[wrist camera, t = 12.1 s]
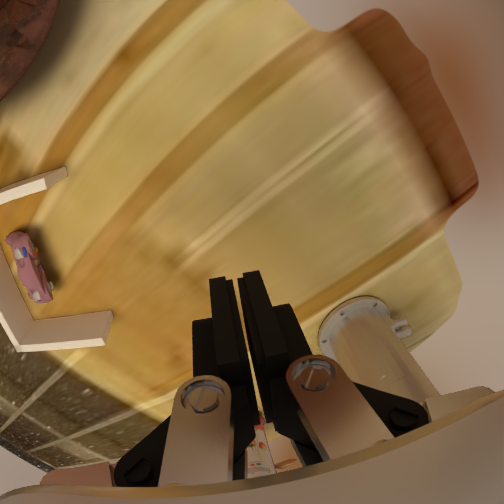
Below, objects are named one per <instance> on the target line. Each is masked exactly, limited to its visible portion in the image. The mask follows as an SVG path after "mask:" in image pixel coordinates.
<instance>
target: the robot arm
mask: <svg viewBox="0 0 504 504" xmlns="http://www.w3.org/2000/svg"><path fill="white" fill-rule="evenodd" d="M237 280H238V286H239V292H240V299H241V305H242V311H243V317H244V323H245V328H246V334H247V340H248V345H249V350H250V354H251V359H252V363H253V368H254V372H255V376H256V381H257V385H258V389H259V394H260V398H261V402H262V407H263V411H264V415H265V419H266V423H271V422H273V424H274V427H275V431H277V432H278V433H279V434H281V435H284V436H286V437H288V438H290V441H291V444H292V446H293V448H294V450H295V452H296V454H297V456H298V458H299V460H300V462H301V464H302V466H303V467H302V468H298V469H294V470H289V471H285V472H280V473H275V474H270V475H265V476H259V477H254V478H248V452H247V447H248V446H249V445H250V444H251V442H252V441H253V440H254V439H255V438H256V433H255V428H254V426H256V425H261V422H260V417H259V411H258V406H257V401H256V395H255V390H254V385H253V379H252V374H251V368H250V363H249V358H248V353H247V348H246V343H245V339H244V334H243V329H242V325H241V320H240V315H239V310H238V305H237V300H236V296H235V291H234V286H233V281H232V279H231V280H226V278H225V276H224V277H218V278H212V279H209V285H210V297H211V309H212V318H207V319H201V320H195V321H193V322H192V343H193V378H191V379H189V380H187V381H186V382H185V383H183V384H182V385H181V386H180V387H179V389H178V390H177V392H176V395H175V398H174V403H173V408H172V413H171V415H170V416H169V417H168V418H167V419H166V420H165V421H164V422H162V423H161V424H160V425H159V426H158V427H157V428H156V429H154V430H153V431H152V432H151V433H150V434H149V435H147V436H146V437H145V438H144V439H143V440H142V441H141V442H139V443H138V444H137V445H136V446H135V447H133V448H132V449H131V450H130V451H129V452H128V453H126V454H125V455H124V456H123V457H122V458H121V459H120V460H119V461H118V462H117V463H116V464H110V463H109V462H104V463H99V464H93V465H88V466H82V467H75V468H68V469H61V470H54V471H51V472H48V473H47V474H46V475H45V476H43V478H42V480H41V482H40V485H33V486H27V487H22V488H19V489H15V490H12V491H9V492H7V493H5V494H3V495H1V496H0V504H504V390H502V391H498V392H494V391H493V390H491V389H490V388H487V387H483V386H481V387H474V388H470V389H466V390H462V391H458V392H454V393H450V394H445V395H440V394H439V392H438V391H437V390H436V388H435V387H434V386H433V384H432V383H431V382H430V380H429V379H428V377H427V376H426V375H425V373H424V372H423V370H422V369H421V368H420V366H419V365H418V363H417V362H416V361H415V359H414V358H413V357H412V355H411V354H410V353H409V351H408V350H407V349H406V347H405V346H404V344H403V343H402V342H401V340H400V338H401V339H402V338H405V337H408V336H410V335H411V334H412V330H411V327H410V326H409V325H406V324H407V322H408V321H407V318H406V317H402V318H398V319H396V320H394V319H391V316H390V311H389V309H388V308H387V306H386V305H385V304H384V303H383V302H382V301H381V300H380V299H377V298H375V297H369V296H364V297H358V298H354V299H351V300H349V301H346V302H345V303H343V304H341V305H339V306H338V307H337V308H336V309H334V310H333V311H332V312H331V313H330V314H329V315H328V316H327V317H326V319H325V320H324V322H323V323H322V325H321V327H320V330H319V333H318V344H319V347H320V349H321V351H322V353H323V354H324V355H325V356H323V355H313V354H312V352H311V350H310V348H309V345H308V343H307V341H306V339H305V336H304V334H303V332H302V329H301V327H300V325H299V323H298V320H297V318H296V316H295V314H294V311H293V309H292V307H291V305H290V304H289V303H288V304H283V305H278V306H273V307H272V305H271V302H270V299H269V296H268V294H267V291H266V288H265V285H264V282H263V280H262V277H261V274H260V272H259V270H258V271H252V272H246V273H243V278H237ZM403 325H406V326H403ZM400 326H403V327H400ZM396 327H400V328H398V329H396ZM336 361H338V363H339V364H338V363H337V362H336Z"/></svg>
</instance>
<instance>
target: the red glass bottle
mask: <svg viewBox="0 0 504 504" xmlns="http://www.w3.org/2000/svg"><path fill="white" fill-rule="evenodd" d="M259 417H260V422H261V425H256V426H254V428H255V433H256V438H255V439H254V440H253V441H252V442H251V444H250V445H249V446H248V447H247V452H248V478H254V477H259V476H265V475H270V474H275V473H277V472H276V469H275V466H274V463H273V460H272V456H271V453H270V450H269V446H268V443H267V439H266V435H265V431H264V427H263V425H264V422H265V421H264V419H263V418H262V417H261V416H259Z"/></svg>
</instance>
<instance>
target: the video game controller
mask: <svg viewBox="0 0 504 504" xmlns="http://www.w3.org/2000/svg"><path fill="white" fill-rule="evenodd" d="M5 241H6V243H7V244H8V245H10V246H11V249H12V252H13V256H14V259H15V262H16V265H17V268H18V275H19V279H20V281H21V282H22V283H23V285H24V286H25V287H26V288H27V290H28V295H29V297H30V298H31V299H33V300H34V301H35V302H36V303H45V302H49V301H51V300H53V296H52V293H51V289H52V290H54V286H53V283H52V282H51V281H50V284H49V283H48V282H47V278H46V274H45V272H44V269H43V267H42V265H41V264H40V265H38V266H36V264H35V261H34V260H36V259H38V254H37V253H38V248H37V247H35V246H34V244H33V243H32V241H31V239H30V237H29V235H28V234H27V233H23V232H20V231H15V232H12V233H10V234H9V235H8V236H7V237H6V239H5Z"/></svg>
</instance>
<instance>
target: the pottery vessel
mask: <svg viewBox="0 0 504 504" xmlns="http://www.w3.org/2000/svg"><path fill="white" fill-rule="evenodd" d="M59 1H60V0H0V101H1V100H2V99H3V98H4V97H5V96H6V95H7V94H8V93H9V92H10V91H11V90H12V89H13V87H14V86H15V85H16V84H17V83H18V81H19V80H20V79H21V77H22V76H23V75H24V73H25V72H26V70H27V69H28V67H29V66H30V64H31V62H32V61H33V59H34V58H35V56H36V54H37V53H38V51H39V49H40V47H41V46H42V44H43V42H44V39H45V37H46V35H47V33H48V31H49V28H50V26H51V23H52V20H53V18H54V15H55V12H56V10H57V7H58V4H59Z"/></svg>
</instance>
